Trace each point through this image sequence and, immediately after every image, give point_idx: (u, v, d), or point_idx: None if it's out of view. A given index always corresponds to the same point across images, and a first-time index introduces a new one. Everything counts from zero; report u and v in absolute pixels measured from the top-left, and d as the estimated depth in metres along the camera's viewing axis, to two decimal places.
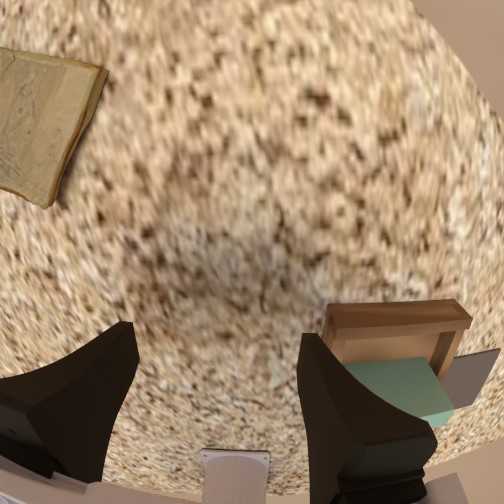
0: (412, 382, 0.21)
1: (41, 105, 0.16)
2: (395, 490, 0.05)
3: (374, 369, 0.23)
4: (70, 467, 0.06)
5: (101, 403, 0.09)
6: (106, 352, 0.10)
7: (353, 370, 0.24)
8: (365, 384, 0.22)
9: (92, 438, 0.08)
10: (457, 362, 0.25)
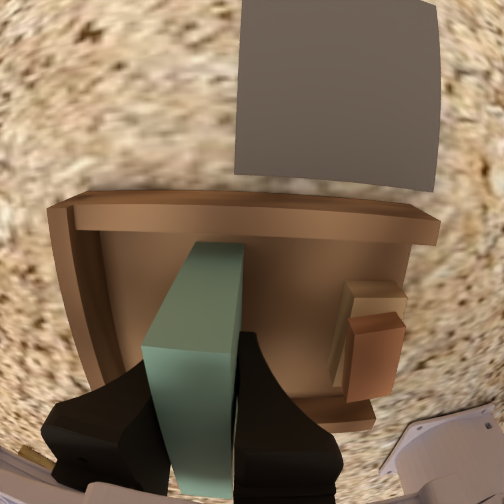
0: None
1: None
2: (298, 503, 0.05)
3: None
4: (148, 489, 0.06)
5: None
6: None
7: None
8: None
9: (162, 454, 0.08)
10: (250, 110, 0.11)
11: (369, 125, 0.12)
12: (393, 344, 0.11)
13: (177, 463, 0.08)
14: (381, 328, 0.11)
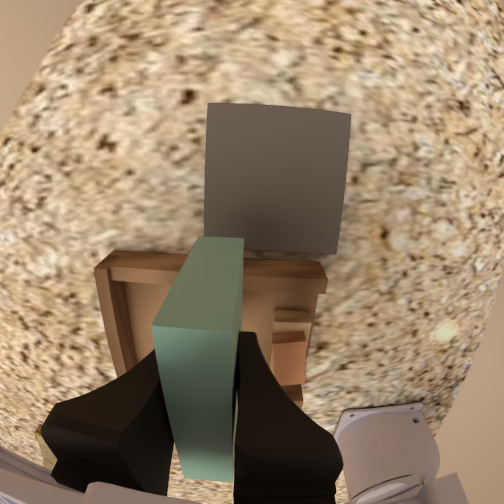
0: None
1: None
2: (298, 503, 0.05)
3: None
4: (148, 489, 0.06)
5: None
6: None
7: None
8: None
9: (162, 454, 0.08)
10: (212, 208, 0.20)
11: (288, 215, 0.20)
12: (299, 351, 0.20)
13: (181, 444, 0.09)
14: (290, 341, 0.20)
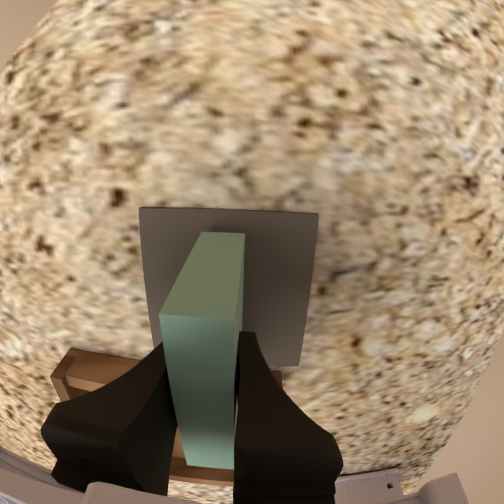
0: None
1: None
2: (298, 503, 0.05)
3: None
4: (148, 489, 0.06)
5: (168, 415, 0.09)
6: None
7: None
8: None
9: (162, 454, 0.08)
10: (158, 323, 0.18)
11: None
12: None
13: (185, 430, 0.10)
14: None
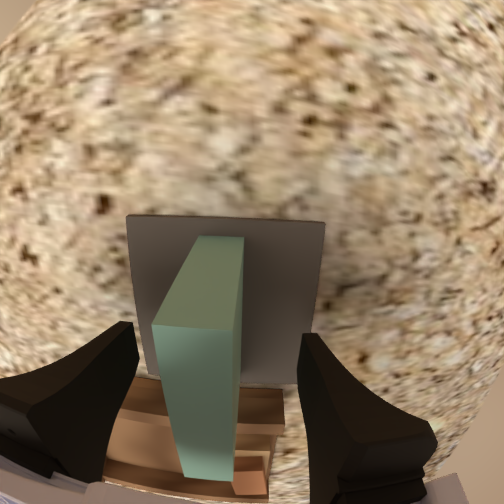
0: None
1: None
2: (395, 490, 0.05)
3: None
4: (70, 467, 0.06)
5: (101, 403, 0.09)
6: (106, 352, 0.10)
7: None
8: None
9: (92, 438, 0.08)
10: (150, 340, 0.16)
11: None
12: (256, 476, 0.16)
13: (181, 443, 0.09)
14: (245, 469, 0.16)
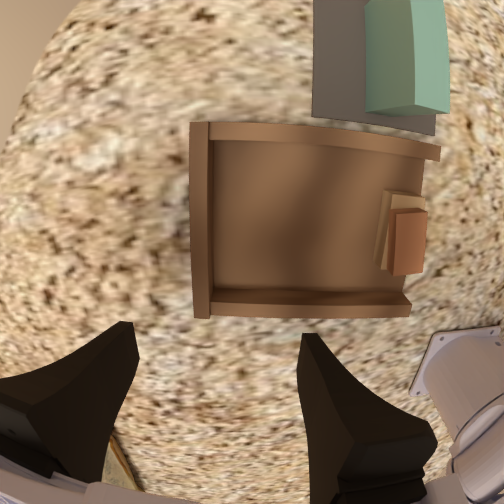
0: (382, 23, 0.13)
1: None
2: (395, 490, 0.05)
3: (371, 73, 0.16)
4: (70, 467, 0.06)
5: (101, 403, 0.09)
6: (106, 352, 0.10)
7: (370, 101, 0.17)
8: (380, 88, 0.15)
9: (92, 438, 0.08)
10: (322, 77, 0.17)
11: None
12: (420, 225, 0.17)
13: (418, 48, 0.10)
14: (412, 212, 0.17)
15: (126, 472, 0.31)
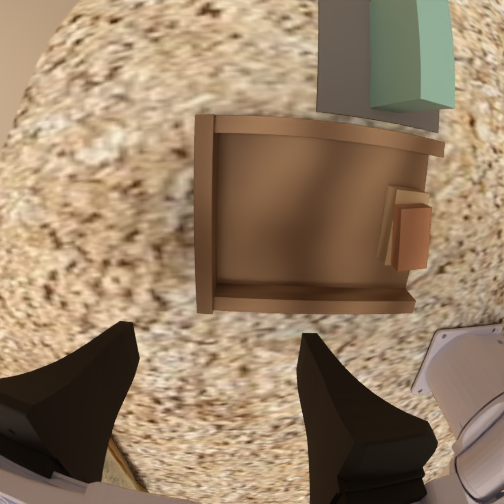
0: (387, 19, 0.13)
1: None
2: (395, 490, 0.05)
3: (375, 69, 0.16)
4: (70, 467, 0.06)
5: (101, 403, 0.09)
6: (106, 352, 0.10)
7: (374, 96, 0.17)
8: (385, 84, 0.15)
9: (92, 438, 0.08)
10: (327, 73, 0.17)
11: None
12: (424, 220, 0.17)
13: (424, 44, 0.10)
14: (416, 207, 0.17)
15: (123, 469, 0.30)
